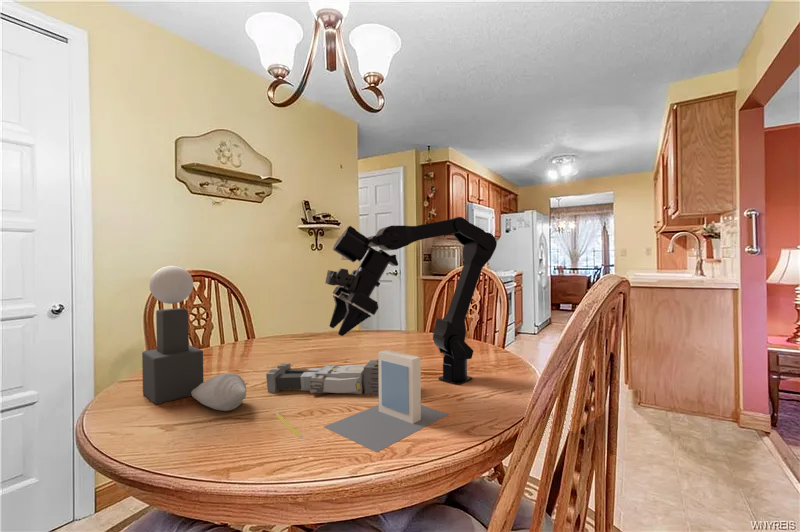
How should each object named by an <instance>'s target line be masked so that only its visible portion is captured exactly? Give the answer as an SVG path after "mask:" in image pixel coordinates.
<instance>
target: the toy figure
mask: <svg viewBox="0 0 800 532" xmlns="http://www.w3.org/2000/svg"><path fill="white" fill-rule="evenodd" d="M276 367H277V368H272V369H270V370H269V371H268V372H266V374H265V375H266V385H267V386H266V388H267V393H268V392H270V393H271V392H272V393H273V394H275V393H278V390H279V391H280V390H282V391H283V390H284V391H285V390H301V391H309V392H310V393H311V394H324V393H332V394H333V393H334V394H355V395H357V394H358V395H362V394H363V392H364V395H377V396H379V366H378V359H371V360H369V361H368V362H367V363H366V364H346V365H341V366H339V365H337V364H330V363H329V364H327V365H324V366H323V367H321V368H320V367H319V368H318V367H311V368H291V367H292V366H291V363H290V362H289V363H281V364H279V365H277V366H276Z"/></svg>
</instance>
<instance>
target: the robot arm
mask: <svg viewBox="0 0 800 532" xmlns="http://www.w3.org/2000/svg"><path fill="white" fill-rule="evenodd" d="M450 234H452V235H453V236H454V238H455V239H456V241H457V242H458V243H460V244H461V245H462V246H463V251H462V253H463V267H462V270H461V272H460V275H459V279H458V281H457V284H456V287H455V289H454V293H453V296H452V299H451V301H450V305H449V307H448V311H447V313H446V315H445V316H444V317H443V318H438V317H437V318H436V321H435V324H434V325H435V326H434V328H433V329H432V331H431V333H432V335H433V336H432V340H433V343H434V345H435V346H436V347H438V350H439V353H441V354H443V357H442V361H443V363H442V376H439V377H438V380H439V381H443V382H447V383H451V384H454V385H462V384H465V383H466V382H469V381H471V380H473V376H470V375H468V360H471V359H472V358H473V354H474V349H473V348H472V347H471V346H470V345H469V344H467V342H466V335H467V327H466V319H467V318H466V317H467V315H468V312H469V308H470V305H471V303H472V300H473V297H474V293H475V291H476V288H477V285H478V282H479V278H480V276H481V273H482V270H483V268H484V266H485V265H486V264H487V263H488V262H489V261H490V260H491V258H492V256H493V255H494V253H495V250H496V249H497V244H498V242H497V240H496V238H495V236H494V234H492V233H491V232H488V231H485V230H484V229H483V228H481V227H479V226H477V225H475V224H473V223H472V222H470V221H468V220H467V219H466V218H464V217H462V216H456V217H452V218H450V219H446V220H440V221H435V222H430V223H425V224H420V225H390V226H385V227H382V228H380V229H379V230H378V231H377V232H376V234H375V235H373V236H372V235H371V236H368V237H367V236H365V235H364V234H362V233H361V232H359V231H358V230H356V228H355V227H353V226H352V225H348V226H347V227H346V229H345V230H344V231H343V233H342V234H341V235H340V237H339V236H338V238H337V240H336V241H335V243H334V245H333V248H332V251H334V252H336V253H337V254H339V255H341V256H342V257H343V258H346V259H347V260H348V261H350V262H352V263H355V262H356V261H358V262H360V261H361V263H360V264H359V266H358V268H357V269H354V270H352V271H351V274H350V273H349V269H345V268H341V267H339V269H338V270H337V271H335V270H330V269H328V270H327V274H326V277H325V284H327V285H330V286H335V288H334V290H333V292H332V294H333V295H332V298H333V300H334V309H333V312H332V315H331V318H330V322H329V327H330V328H331V329H334V328H336V326H338V325H339V324H340V323H341V324H340V327H339V329H338V331H337V332H338V333H337V334H338V335H339V336H341V337H343V336H344V335H346V334H347V333H349V332H351V330H353V329H354V328H355V327H358V325H360V324H362V323H363V322H364V321H366V320H368V319H369V318H371V317H372V315H373V316H375V315H376V313H377V312H378V310H379V303H378V301H376V300H374V299H373V298H372V297H371V295H372V293H373V291H374V290H375V289H376V287H377V288H379V286H380V285H381V282H379V281H380V280H381V278H382V276H383V275H384V273H385V271H386V269H387V267H388V266H389V265H390V266H392V267H398V266H399V262H398V260H397V254H389V253H387V252H386V251H396V250H399V249H401V248H404V247H407V246H409V245H411V244H413V243H415V242H418V241H421V240H425V239H431V238H436V237H441V236H446V235H450ZM374 247H376V248H377V247H378V248H379V250H376V249H374ZM370 314H371V315H370Z"/></svg>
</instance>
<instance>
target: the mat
mask: <svg viewBox="0 0 800 532" xmlns="http://www.w3.org/2000/svg"><path fill="white" fill-rule="evenodd" d="M448 415H450V414H449V413H447V412H444V411H441V410H439V409H434V408H431V407H428V406H426V405H422V404H421V420H419V421H417V422H415V423H413V424H412V423H409V422H407V421H404V420H401V419H399V418H396V417H393V416H390V415H388V414H385V413H382V412H380V411H379V404H377V405H374V406H372V407H370V408H366V409H364V410H362V411H359V412H357V413H354V414H352V415H349V416H347V417H344V418H342V419H340V420H337V421H335V422H332V423H329V424H327V425H324V426H323V428H324V429H326V430H329V431H331V432H333V433H336V434H338V435H340V436H341V437H343V438H346V439H348V440H350V441H352V442H354V443H356V444H358V445H361V446H363V447H364V448H366V449H369V450H371V451H373V452H375V453H379V452H380V451H383V450H384V449H385V448H388V447H390V446H392V445H393V444H396V443H397V442H399V441H401V440H403V439H405V438H407V437H409V436H411V435H413V434H414V433H417V432H418V431H420V430H422V429H424V428H426V427H428V426H431V424H433V423H436V422H437V421H439V420H441V419H443V418H445V417H447V416H448Z"/></svg>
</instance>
